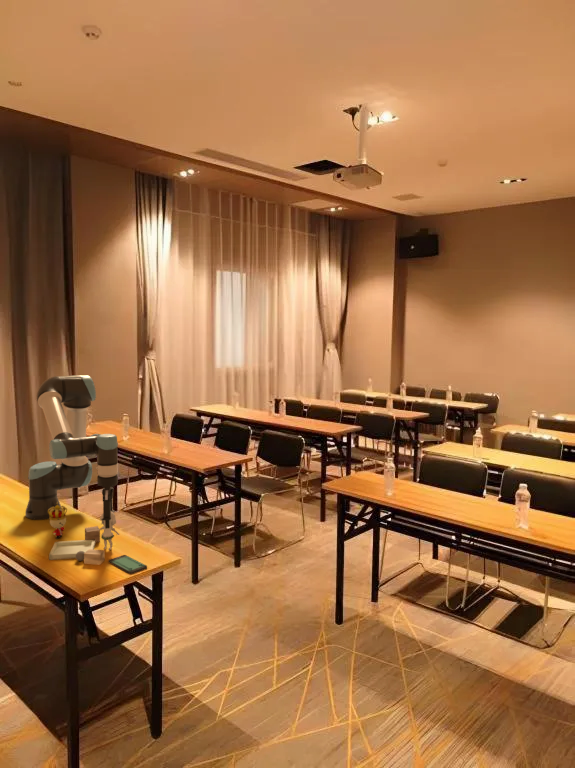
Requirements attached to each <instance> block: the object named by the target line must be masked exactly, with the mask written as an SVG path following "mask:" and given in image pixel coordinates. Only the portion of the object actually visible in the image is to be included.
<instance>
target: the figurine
mask: <svg viewBox="0 0 575 768" xmlns="http://www.w3.org/2000/svg"><path fill="white" fill-rule="evenodd" d="M102 519H103V513H102V514H101V515H100V517H99V520H100V521H101V523H100V525H103V526H101V528H99V530H98V532H99V531H100V532H101V531H103V530H104V520H102ZM116 524H117V519H116V514H115V512H112V511H111V536H104V531H103V532H102V534H101V535H100V539H102V540H103V544H104V547H103V550H106V549H107V545H108V543H109V548H108V550H109V551H110V550H112V549H113V548H112V547H113V541H112V539H113V538H114V537H115V535H114V533H116V535H118V536H120V533H119V532H118V531H117V530H116V528H115V527H114V526H115V525H116ZM112 526H113V527H112ZM113 532H114V533H113Z"/></svg>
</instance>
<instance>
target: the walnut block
mask: <svg viewBox="0 0 575 768" xmlns="http://www.w3.org/2000/svg"><path fill="white" fill-rule="evenodd" d="M99 529H100V528H99V526H98V525H96V526H88V527H84V540H94V539H95V544H96V543H101V530H100V531H99V532H98V530H99Z"/></svg>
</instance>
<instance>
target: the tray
mask: <svg viewBox="0 0 575 768" xmlns="http://www.w3.org/2000/svg"><path fill="white" fill-rule="evenodd" d="M95 546H96V543H95V539H94V540H85V539H80V540H64V541H62V540H61V541H55V542H54V544H53V545H52V548H51V550H50V552H49V554H48V560H49V561H51V560H55V561H56V560H68V559H76V554H77V553H78V552H79V551H83V552H86V551H87V550H89V549H95Z"/></svg>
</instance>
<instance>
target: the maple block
mask: <svg viewBox="0 0 575 768" xmlns="http://www.w3.org/2000/svg"><path fill="white" fill-rule="evenodd" d="M105 552H106V551H105V549H95V548H94V549H89V550H87V551H86V552H85V553H84V560H83V562H84V563H83V564H85V565H98V566H99V565H101V564H103V562H104V561H105V559H106V557H105Z"/></svg>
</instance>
